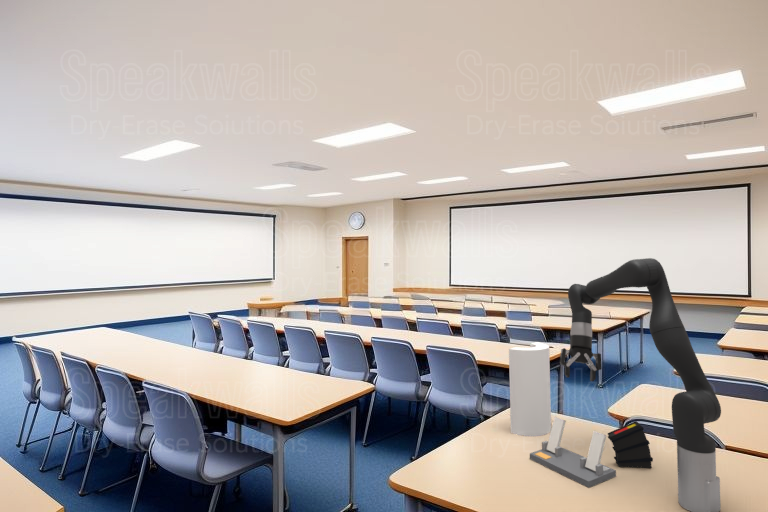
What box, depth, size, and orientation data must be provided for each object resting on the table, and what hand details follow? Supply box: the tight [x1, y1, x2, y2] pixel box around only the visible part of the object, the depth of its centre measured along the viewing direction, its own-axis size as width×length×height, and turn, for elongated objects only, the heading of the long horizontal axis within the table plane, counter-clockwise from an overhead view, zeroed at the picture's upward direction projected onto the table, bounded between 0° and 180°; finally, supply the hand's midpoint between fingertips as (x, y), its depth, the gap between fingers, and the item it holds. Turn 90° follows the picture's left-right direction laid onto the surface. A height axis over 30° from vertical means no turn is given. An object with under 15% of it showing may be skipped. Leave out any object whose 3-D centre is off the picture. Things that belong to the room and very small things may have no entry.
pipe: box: [508, 341, 552, 437], centre depth 189 cm, size 35×11×21 cm
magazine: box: [607, 420, 654, 469], centre depth 155 cm, size 4×13×15 cm, turn 83°
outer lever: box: [547, 416, 567, 453], centre depth 163 cm, size 4×1×12 cm, turn 30°
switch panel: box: [529, 440, 617, 489], centre depth 155 cm, size 24×14×5 cm, turn 30°
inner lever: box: [585, 430, 607, 471], centre depth 149 cm, size 4×1×12 cm, turn 30°
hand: (579, 379), depth 166 cm, fingers open, 8 cm apart
